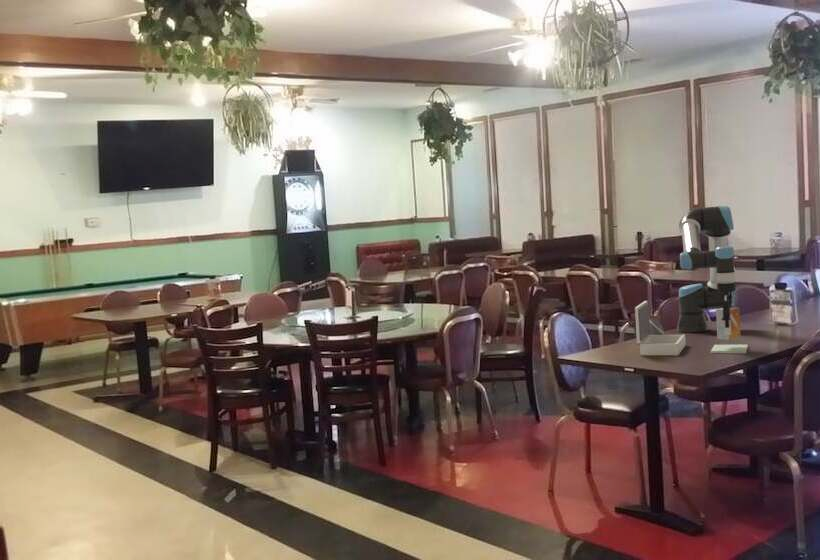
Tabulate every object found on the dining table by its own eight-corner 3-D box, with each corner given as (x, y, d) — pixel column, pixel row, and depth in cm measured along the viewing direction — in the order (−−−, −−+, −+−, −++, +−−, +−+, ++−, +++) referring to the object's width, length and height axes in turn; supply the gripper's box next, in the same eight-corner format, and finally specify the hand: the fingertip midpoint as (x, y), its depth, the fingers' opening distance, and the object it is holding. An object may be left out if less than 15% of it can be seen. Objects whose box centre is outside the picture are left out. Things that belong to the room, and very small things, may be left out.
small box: (729, 340, 355) (728, 310, 355) (716, 338, 361) (715, 309, 360) (741, 337, 360) (739, 307, 359) (728, 336, 365) (726, 307, 364)
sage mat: (714, 346, 371) (714, 344, 371) (748, 346, 365) (747, 344, 365) (710, 353, 357) (710, 351, 357) (745, 353, 351) (745, 350, 350)
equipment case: (647, 345, 389) (645, 300, 388) (685, 344, 382) (683, 299, 380) (637, 355, 366) (634, 307, 364) (678, 355, 358) (675, 306, 357)
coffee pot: (663, 345, 384) (661, 313, 383) (639, 345, 391) (637, 314, 390) (676, 338, 402) (674, 307, 401) (652, 338, 408) (650, 308, 407)
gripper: (719, 280, 370) (721, 329, 372) (714, 285, 350) (717, 337, 352) (737, 279, 367) (739, 329, 369) (733, 284, 347) (736, 337, 348)
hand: (728, 333), depth 360 cm, fingers closed on small box, 10 cm apart
